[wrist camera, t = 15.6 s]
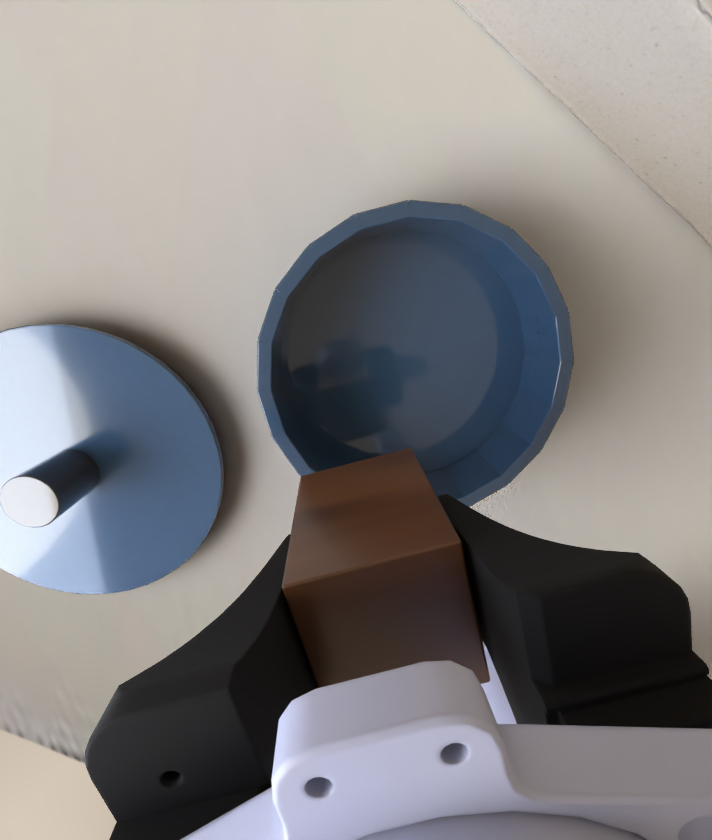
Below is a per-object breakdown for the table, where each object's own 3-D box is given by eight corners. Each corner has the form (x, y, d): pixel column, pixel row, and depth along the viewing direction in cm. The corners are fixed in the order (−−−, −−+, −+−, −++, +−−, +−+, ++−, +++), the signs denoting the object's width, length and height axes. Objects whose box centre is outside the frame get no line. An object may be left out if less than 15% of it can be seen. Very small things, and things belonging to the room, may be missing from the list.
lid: (261, 546, 24) (246, 599, 20) (19, 607, 24) (-48, 673, 20) (169, 289, 20) (126, 286, 16) (-120, 365, 20) (-239, 382, 16)
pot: (545, 449, 23) (586, 478, 19) (311, 508, 23) (307, 548, 20) (511, 187, 20) (554, 161, 16) (234, 260, 20) (211, 251, 16)
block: (433, 544, 16) (492, 683, 10) (330, 570, 16) (329, 723, 10) (411, 446, 15) (461, 540, 9) (300, 475, 15) (280, 587, 9)
